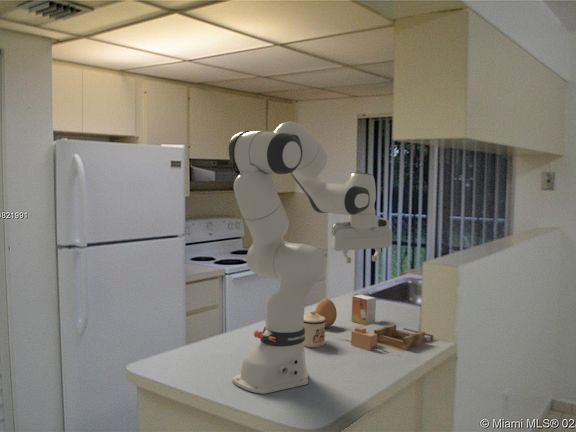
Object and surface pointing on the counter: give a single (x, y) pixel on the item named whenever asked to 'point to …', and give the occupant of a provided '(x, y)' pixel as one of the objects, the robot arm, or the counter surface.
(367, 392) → the counter surface
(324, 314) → the egg
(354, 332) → the block
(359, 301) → the small box
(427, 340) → the plank
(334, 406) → the counter surface
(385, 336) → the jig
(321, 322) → the teacup with lid
